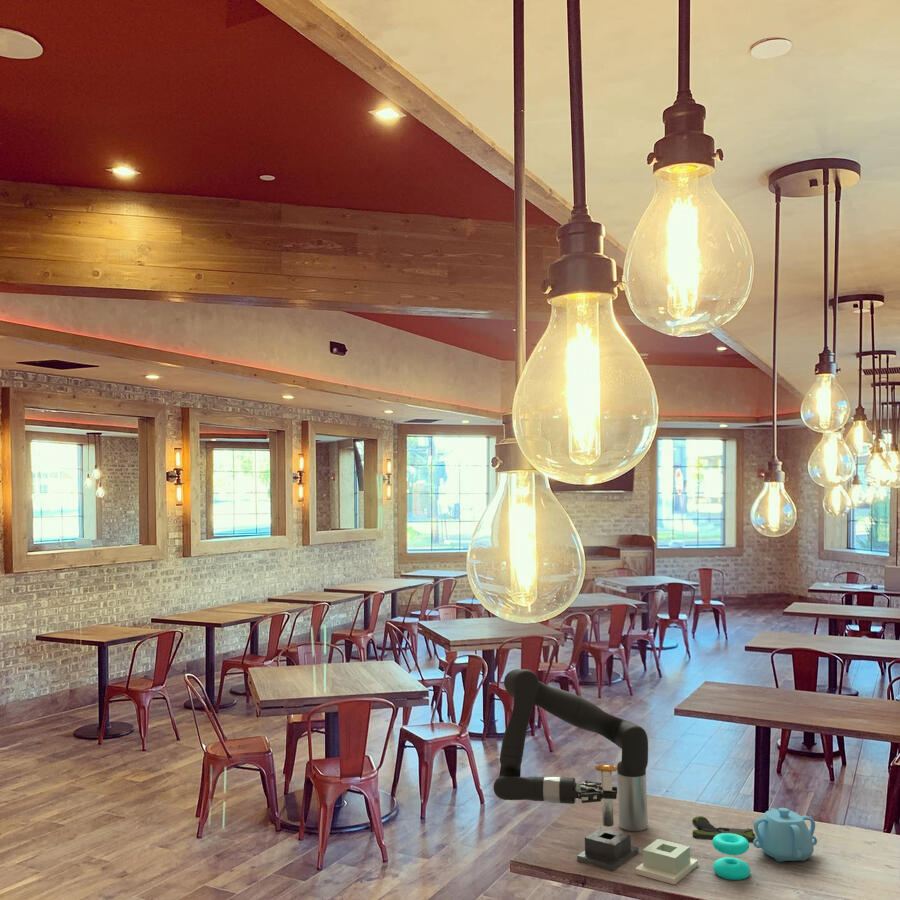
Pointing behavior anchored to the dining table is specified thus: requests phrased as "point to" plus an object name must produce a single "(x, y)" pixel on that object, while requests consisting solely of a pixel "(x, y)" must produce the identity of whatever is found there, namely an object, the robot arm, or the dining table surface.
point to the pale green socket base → (666, 861)
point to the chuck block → (607, 849)
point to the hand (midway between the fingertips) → (616, 792)
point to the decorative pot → (785, 835)
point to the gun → (718, 830)
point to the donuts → (730, 865)
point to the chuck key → (606, 785)
